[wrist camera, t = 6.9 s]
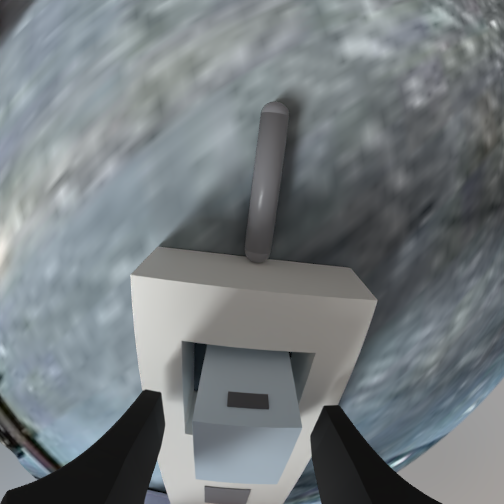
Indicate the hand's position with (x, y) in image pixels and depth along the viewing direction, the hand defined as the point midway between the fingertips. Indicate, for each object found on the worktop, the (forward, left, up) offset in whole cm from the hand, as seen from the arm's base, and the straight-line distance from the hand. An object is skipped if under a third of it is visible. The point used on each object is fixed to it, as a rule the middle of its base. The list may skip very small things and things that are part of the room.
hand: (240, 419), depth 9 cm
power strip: (-2, 0, -4) cm, 4 cm away
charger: (0, 0, -4) cm, 4 cm away
